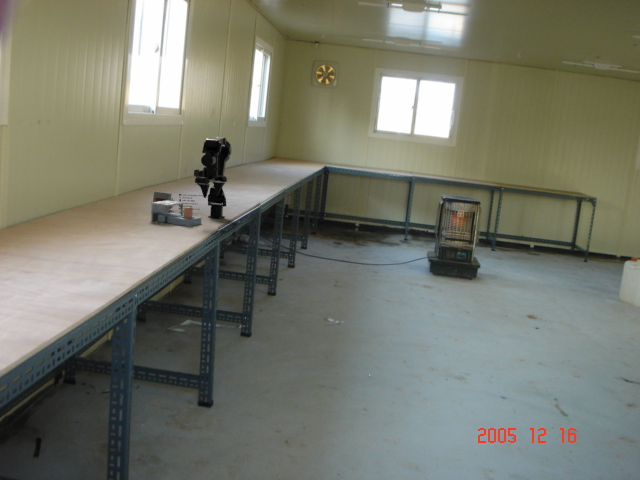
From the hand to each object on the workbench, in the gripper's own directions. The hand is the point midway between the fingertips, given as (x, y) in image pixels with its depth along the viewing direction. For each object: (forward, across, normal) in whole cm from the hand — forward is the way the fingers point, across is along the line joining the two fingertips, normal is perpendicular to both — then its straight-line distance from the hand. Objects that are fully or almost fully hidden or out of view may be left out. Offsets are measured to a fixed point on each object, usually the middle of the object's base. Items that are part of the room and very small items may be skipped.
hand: (210, 197), depth 288 cm
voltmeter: (+13, -14, -32) cm, 37 cm away
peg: (+12, +12, -4) cm, 18 cm away
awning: (+12, +12, -17) cm, 24 cm away
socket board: (+12, +12, -9) cm, 20 cm away
